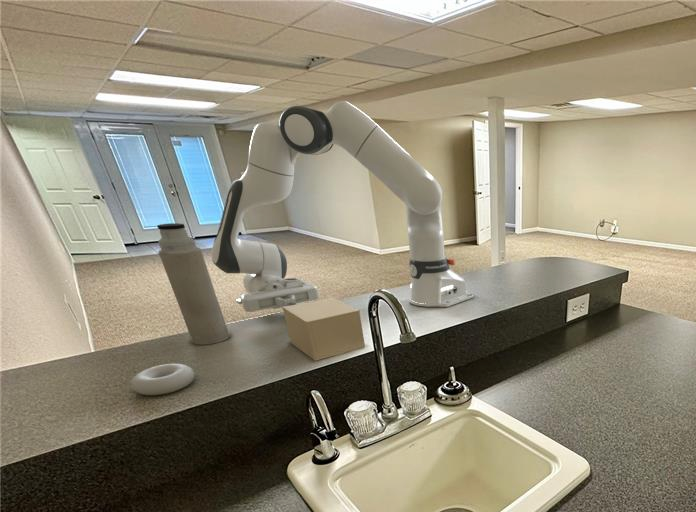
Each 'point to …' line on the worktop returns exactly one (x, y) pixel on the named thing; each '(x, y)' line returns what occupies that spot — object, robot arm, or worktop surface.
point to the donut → (162, 379)
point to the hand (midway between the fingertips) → (290, 303)
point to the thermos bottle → (191, 285)
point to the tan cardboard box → (324, 327)
